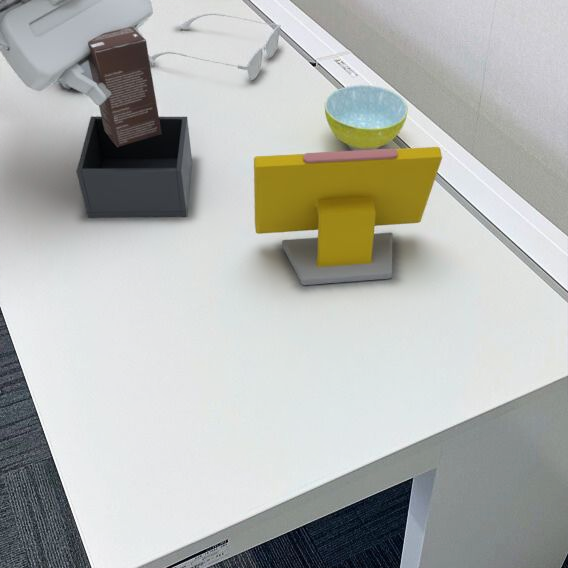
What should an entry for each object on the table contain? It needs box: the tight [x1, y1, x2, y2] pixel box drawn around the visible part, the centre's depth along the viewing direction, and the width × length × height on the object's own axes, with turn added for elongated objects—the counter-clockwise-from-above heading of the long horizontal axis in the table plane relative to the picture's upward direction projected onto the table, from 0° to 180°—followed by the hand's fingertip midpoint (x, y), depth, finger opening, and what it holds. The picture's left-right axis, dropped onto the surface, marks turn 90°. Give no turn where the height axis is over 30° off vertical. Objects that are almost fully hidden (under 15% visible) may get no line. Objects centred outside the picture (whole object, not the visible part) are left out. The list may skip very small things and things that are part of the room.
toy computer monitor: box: [253, 146, 443, 286], centre depth 87 cm, size 20×8×16 cm, turn 100°
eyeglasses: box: [150, 13, 282, 81], centre depth 124 cm, size 15×18×4 cm
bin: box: [75, 115, 193, 218], centre depth 98 cm, size 12×12×7 cm
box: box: [87, 27, 162, 147], centre depth 90 cm, size 6×4×12 cm
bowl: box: [324, 84, 409, 151], centre depth 108 cm, size 11×12×6 cm
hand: (128, 84), depth 89 cm, fingers closed on box, 7 cm apart
